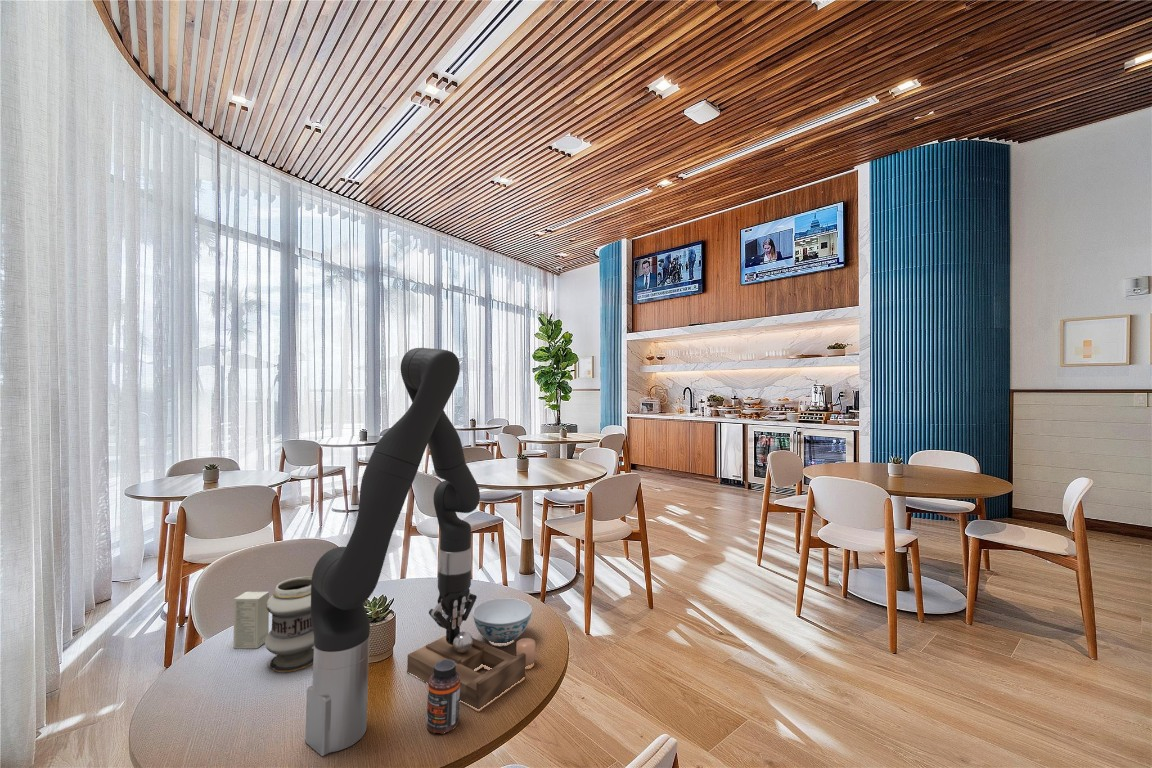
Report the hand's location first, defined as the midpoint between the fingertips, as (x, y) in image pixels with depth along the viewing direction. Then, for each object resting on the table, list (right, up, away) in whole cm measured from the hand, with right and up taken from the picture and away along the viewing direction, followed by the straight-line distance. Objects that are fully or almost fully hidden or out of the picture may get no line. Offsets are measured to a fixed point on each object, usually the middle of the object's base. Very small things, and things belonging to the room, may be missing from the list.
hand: (452, 642), depth 111 cm
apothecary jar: (-37, -5, 0) cm, 37 cm away
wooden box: (+4, -5, -4) cm, 7 cm away
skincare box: (-52, -5, +7) cm, 53 cm away
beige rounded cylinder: (+17, -6, +1) cm, 18 cm away
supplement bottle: (+3, -5, -20) cm, 21 cm away
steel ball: (+3, +1, -2) cm, 3 cm away
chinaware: (+10, -6, +12) cm, 16 cm away
